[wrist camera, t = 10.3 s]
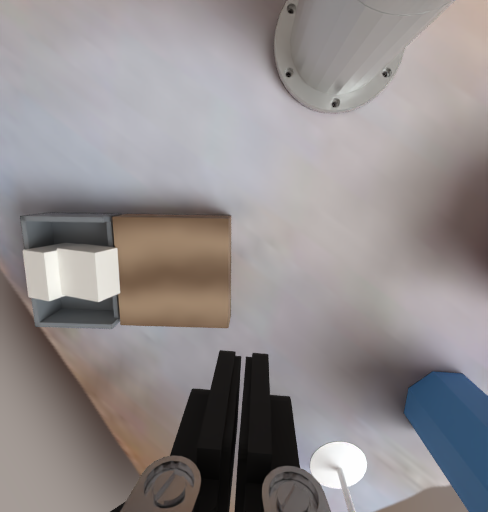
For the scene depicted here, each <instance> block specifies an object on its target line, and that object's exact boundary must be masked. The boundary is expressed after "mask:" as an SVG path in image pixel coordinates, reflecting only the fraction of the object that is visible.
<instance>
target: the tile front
mask: <svg viewBox="0 0 488 512" xmlns="http://www.w3.org/2000/svg"><path fill="white" fill-rule="evenodd" d="M57 256H58V265H59V274H60V284H61V293H62V295H65V296H70V297H75V298H80V299H85V300H90V301H95V302H100V301H102V300H105V299H107V298H110V297H112V296H114V295H117V294H119V293H120V281H119V265H118V250H117V248H116V247H107V246H98V245H90V244H76V245H71V246H66V247H60V248H57Z"/></svg>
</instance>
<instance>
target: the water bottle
mask: <svg viewBox="0 0 488 512" xmlns="http://www.w3.org/2000/svg"><path fill="white" fill-rule="evenodd" d="M404 414H405V416H406V417H407V419H408V420H409V422H410V423H411V425H412V426H413V428H414V429H415V431H416V432H417V434H418V435H419V437H420V438H421V440H422V441H423V443H424V444H425V446H426V447H427V449H428V450H429V452H430V453H431V455H432V456H433V458H434V460H435V461H436V463H437V464H438V466H439V467H440V469H441V470H442V472H443V473H444V475H445V476H446V478H447V479H448V481H449V482H450V484H451V485H452V487H453V488H454V490H455V491H456V493H457V494H458V496H459V497H460V499H461V501H462V502H463V504H464V505H465V507H466V508H467V510H468V511H469V512H488V396H487V395H486V394H485V393H484V392H483V391H481V390H480V389H479V388H478V387H477V386H476V385H475V384H474V383H472V382H471V381H470V380H469V379H468V378H467V377H466V376H465V375H464V374H462V373H449V372H435V371H433V372H431V373H430V374H428V375H427V376H425V377H424V378H423V379H421V380H420V381H418V382H417V383H415V384H414V385H412V386H411V387H409V388H408V394H407V399H406V404H405V409H404Z"/></svg>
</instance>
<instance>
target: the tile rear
mask: <svg viewBox="0 0 488 512" xmlns="http://www.w3.org/2000/svg"><path fill="white" fill-rule="evenodd" d="M71 245H76V244H74V243H61V244H55V245H49V246H43V247H37V248H31V249H25V250H23V258H24V266H25V274H26V282H27V289H28V297H31V298H35V299H40V300H45V301H52V300H55V299H58V298H60V297H63V296H65V295H62V293H61V284H60V274H59V265H58V256H57V248H60V247H66V246H71Z"/></svg>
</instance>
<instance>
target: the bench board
mask: <svg viewBox="0 0 488 512" xmlns="http://www.w3.org/2000/svg"><path fill="white" fill-rule="evenodd" d="M112 219H113V232H114V245H115V247H116V248H117V250H118V265H119V281H120V293H119V294H118V298H119V311H120V324H121V325H136V326H171V327H206V328H228V327H229V322H230V317H231V216H216V215H156V214H124V215H119V216H113V217H112Z"/></svg>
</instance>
